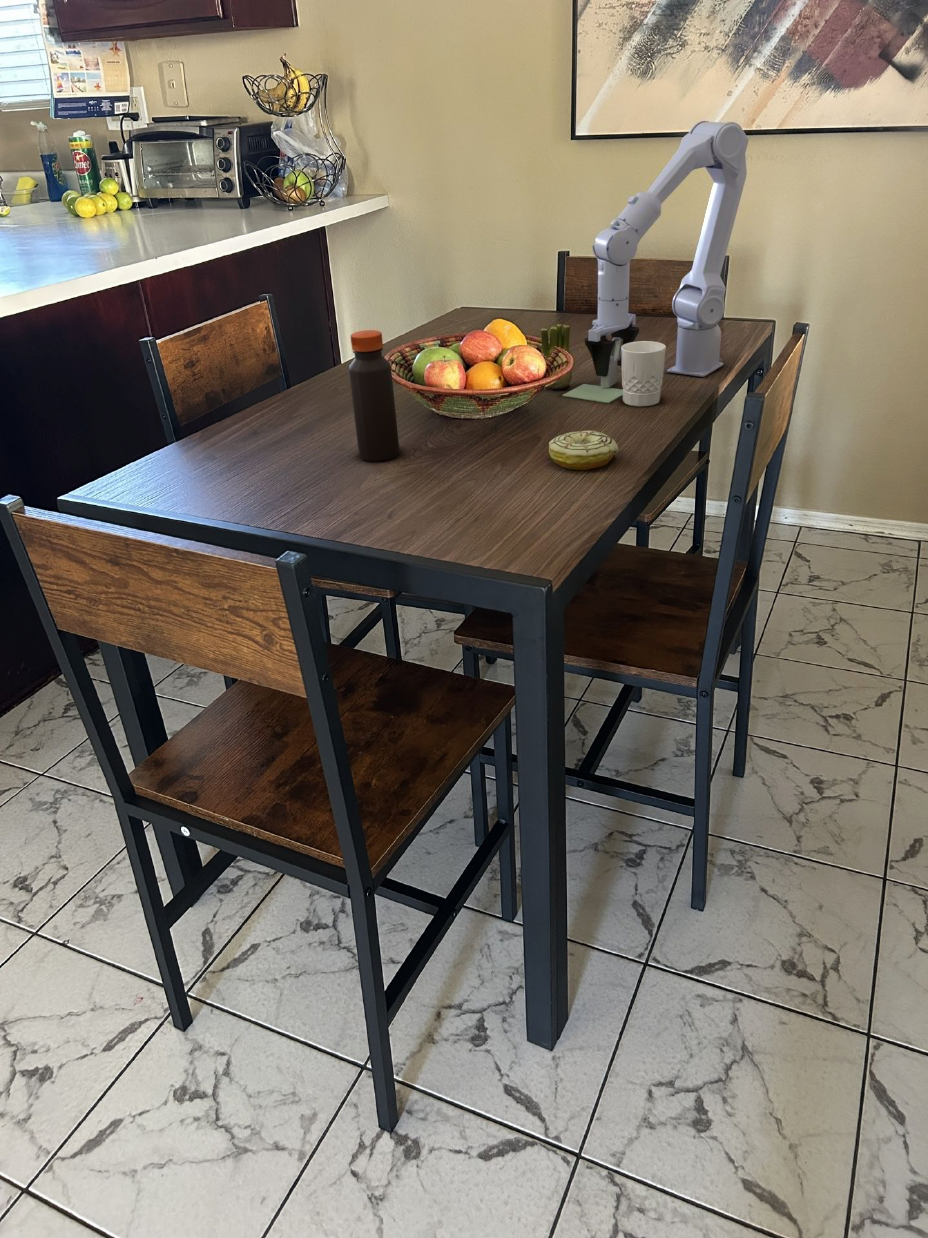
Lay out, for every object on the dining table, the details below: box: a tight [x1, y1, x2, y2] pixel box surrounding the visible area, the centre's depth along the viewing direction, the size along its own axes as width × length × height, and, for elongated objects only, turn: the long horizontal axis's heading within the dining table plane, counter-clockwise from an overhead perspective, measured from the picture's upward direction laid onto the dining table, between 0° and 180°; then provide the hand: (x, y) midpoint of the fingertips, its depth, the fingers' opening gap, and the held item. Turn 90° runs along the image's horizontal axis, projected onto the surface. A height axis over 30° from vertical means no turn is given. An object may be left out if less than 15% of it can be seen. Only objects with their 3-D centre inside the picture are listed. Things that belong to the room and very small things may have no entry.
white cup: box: [621, 340, 667, 407], centre depth 170 cm, size 8×8×10 cm
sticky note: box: [561, 383, 623, 404], centre depth 177 cm, size 8×10×1 cm
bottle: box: [348, 329, 400, 463], centre depth 151 cm, size 7×7×20 cm
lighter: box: [600, 337, 623, 388], centre depth 180 cm, size 7×2×8 cm, turn 150°
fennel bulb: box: [540, 323, 573, 390], centre depth 179 cm, size 6×5×12 cm
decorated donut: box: [548, 429, 619, 471], centre depth 147 cm, size 10×11×4 cm
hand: (611, 370), depth 180 cm, fingers open, 7 cm apart
